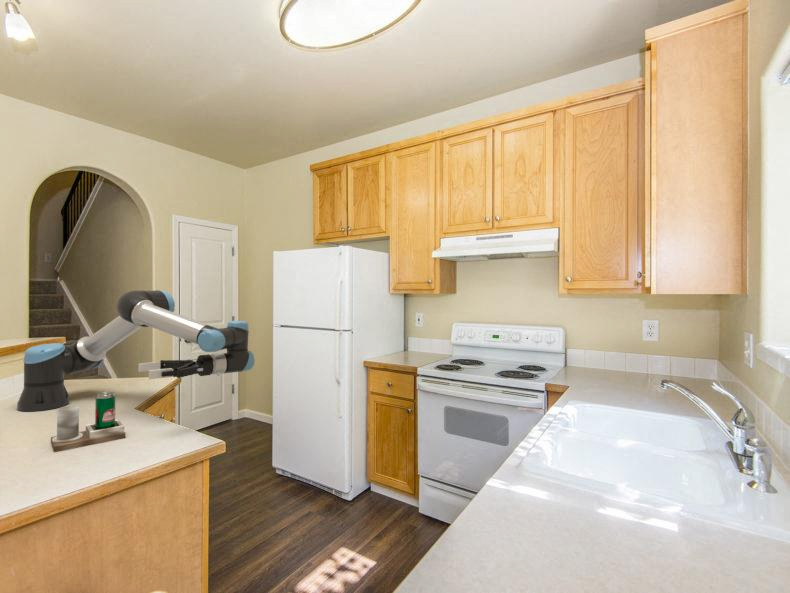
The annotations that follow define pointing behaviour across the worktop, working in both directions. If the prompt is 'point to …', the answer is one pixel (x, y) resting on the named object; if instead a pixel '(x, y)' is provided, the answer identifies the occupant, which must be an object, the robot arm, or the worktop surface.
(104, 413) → the soda can
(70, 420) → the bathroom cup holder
